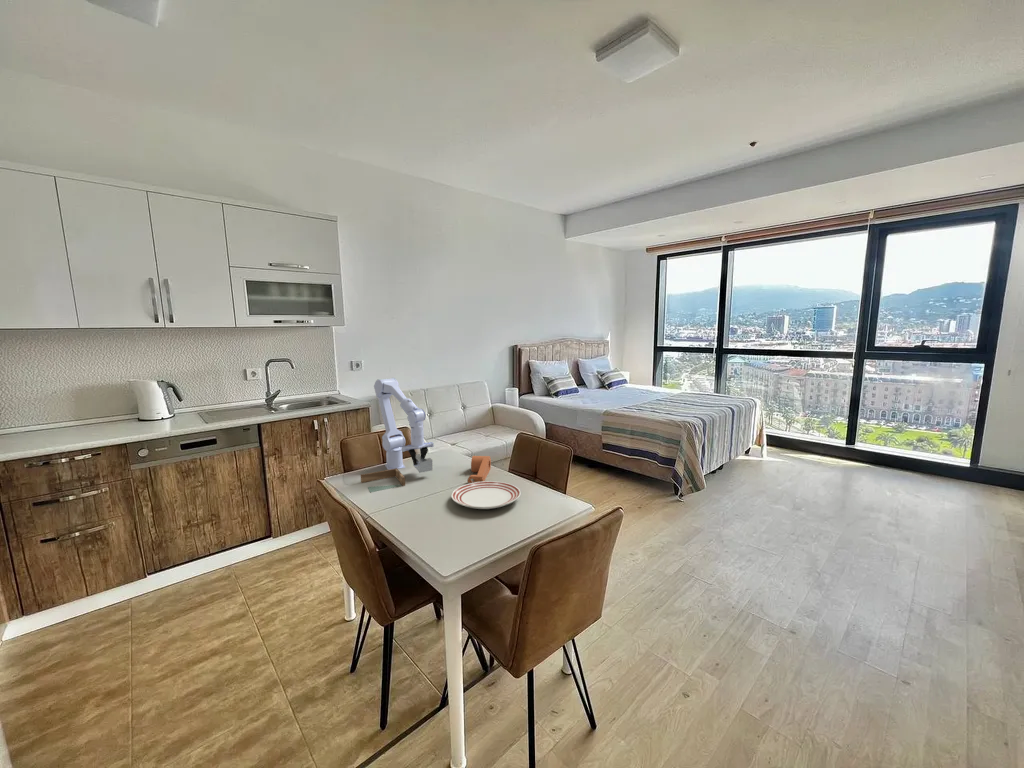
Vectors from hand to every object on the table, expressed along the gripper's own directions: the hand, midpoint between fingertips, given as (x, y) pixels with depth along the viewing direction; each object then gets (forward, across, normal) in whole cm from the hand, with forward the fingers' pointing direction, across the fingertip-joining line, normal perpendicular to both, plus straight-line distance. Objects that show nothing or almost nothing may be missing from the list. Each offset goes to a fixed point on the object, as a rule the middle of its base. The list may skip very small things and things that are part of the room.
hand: (418, 464), depth 184 cm
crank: (+6, +23, -16) cm, 29 cm away
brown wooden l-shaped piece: (+6, -17, -3) cm, 18 cm away
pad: (+6, -17, -5) cm, 19 cm away
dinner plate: (+6, +15, -41) cm, 44 cm away
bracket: (+2, 0, -1) cm, 2 cm away
